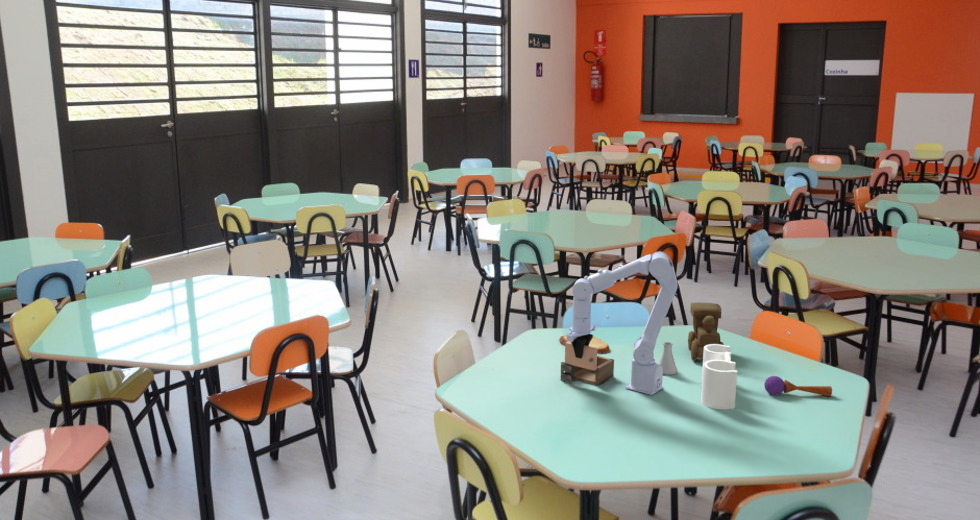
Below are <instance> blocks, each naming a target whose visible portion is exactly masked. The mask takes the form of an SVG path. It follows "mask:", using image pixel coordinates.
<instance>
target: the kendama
mask: <svg viewBox="0 0 980 520" xmlns="http://www.w3.org/2000/svg"><path fill="white" fill-rule="evenodd" d="M764 388H765V391H766V392H767V393H768V394H770V395H772V396H778V395H781V394H782V393H784V394H788V393H791V392H794V391H801V392H805V393H811V394H816V395H818V396H819V395H820V396H824V397H829V398H830V397H832V394H833V388H832V386H831V385H828V386H827V385H826V386H824V385H822V386H821V385H815V386H813V385H795V384H793V383H792V382H791V381H789V380H787V379H785V380H783V379H782V378H781V377H780V376H778V375H777V376H776V375H772V376H771V375H770V376H769V377H767V378H766V379H765V381H764Z"/></svg>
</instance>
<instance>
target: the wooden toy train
mask: <svg viewBox="0 0 980 520" xmlns="http://www.w3.org/2000/svg"><path fill="white" fill-rule="evenodd" d="M722 310H723V309H722V307H721V305H720V304H719V303H714V302H690V315H691V316H692V325H693V326H692V329H693V330H691V331H689V332H688V337H687V345H688V350H690V358H691V361H697V359H703V352H704V346H706V345H709V344H720V345H725V344H724V342H723V341H721V334H720V332H718V327H719V319H722Z"/></svg>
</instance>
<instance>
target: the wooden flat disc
mask: <svg viewBox="0 0 980 520" xmlns="http://www.w3.org/2000/svg"><path fill="white" fill-rule="evenodd" d="M568 334H569V333H566V334H565V335H562V336H560V337H559V342H560V344H561V345H562V346H563V347H565V343H566V342H570V341H567V335H568ZM589 347H593V348H597V354H607V353H611V349H610V346H609V344H608V343H607V342H605V341H604V340H602V339H601V338H598V337H596V336H594V335H593V338H592V340H591V341H590V343H589Z"/></svg>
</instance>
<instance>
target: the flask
mask: <svg viewBox="0 0 980 520" xmlns="http://www.w3.org/2000/svg"><path fill="white" fill-rule="evenodd" d="M662 344H663V351H662V354H661V356H660V358H659V362H658V363H657V364H658V365H661V366H662V368H663V375H666V376H667V375H668V376H671V375H676V374H677V373H678V368H677V365H676V362H675V359H674V355H673V345H674V344H673V343H672V342H670V341H664V342H663V343H662Z"/></svg>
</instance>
